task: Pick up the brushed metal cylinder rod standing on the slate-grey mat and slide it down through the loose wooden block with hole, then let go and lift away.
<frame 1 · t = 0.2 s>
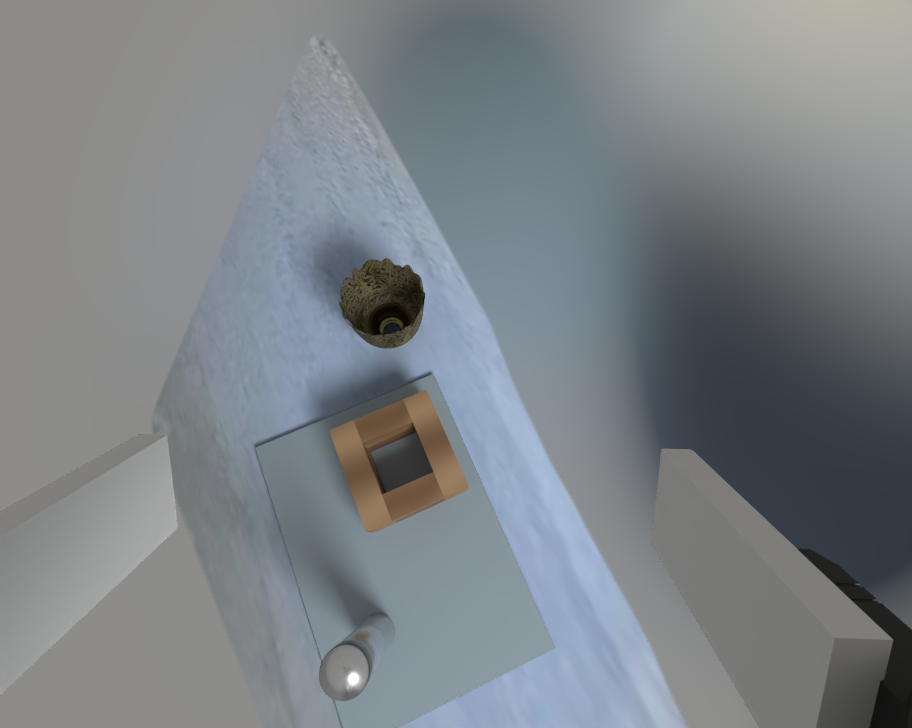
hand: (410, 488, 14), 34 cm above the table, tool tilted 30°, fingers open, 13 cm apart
mat: (396, 541, 46), on the table
metal cylinder rod: (378, 631, 43), resting on mat
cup: (392, 331, 52), on the table
wooden block with hole: (402, 464, 47), resting on mat
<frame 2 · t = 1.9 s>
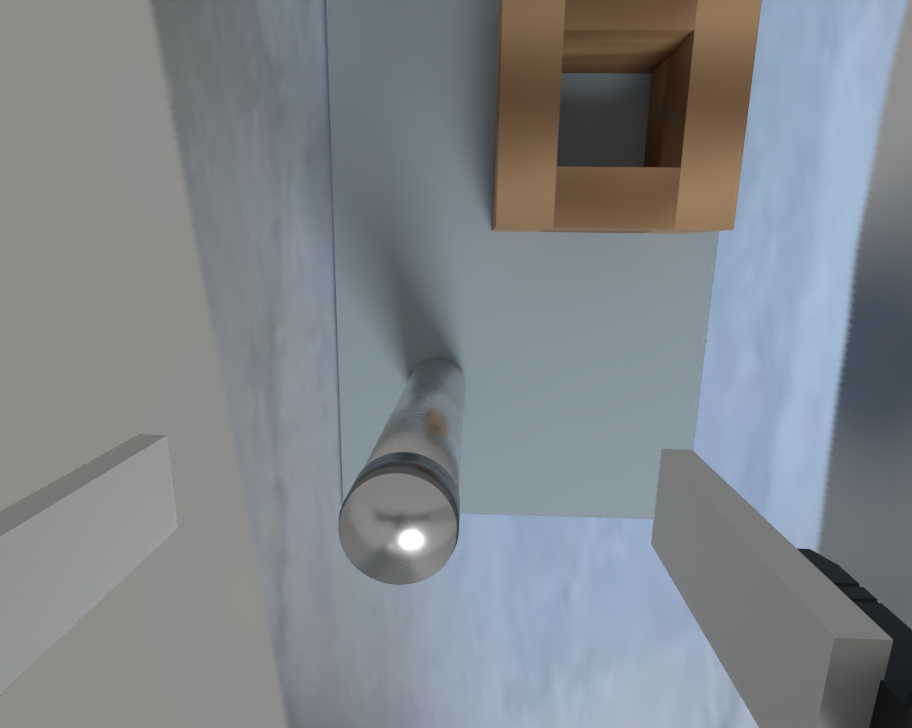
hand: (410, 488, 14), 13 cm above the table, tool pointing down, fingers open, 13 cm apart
mat: (521, 264, 25), on the table
metal cylinder rod: (437, 384, 26), resting on mat
wooden block with hole: (595, 129, 23), resting on mat
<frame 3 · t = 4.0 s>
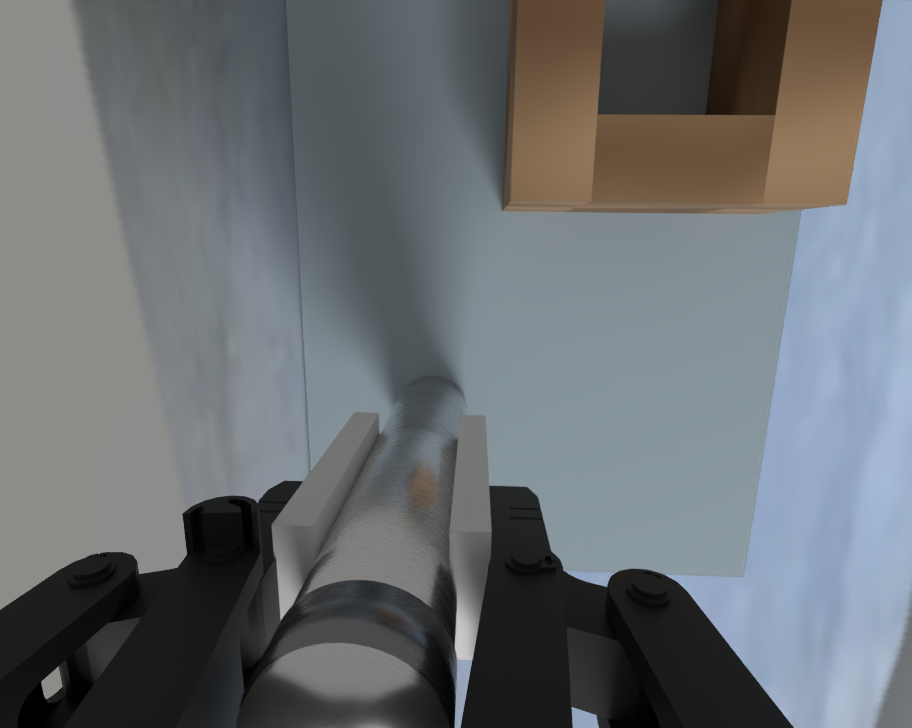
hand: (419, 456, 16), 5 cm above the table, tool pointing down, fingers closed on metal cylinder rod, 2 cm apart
mat: (540, 254, 19), on the table
metal cylinder rod: (431, 410, 20), resting on mat, touching gripper
wooden block with hole: (640, 74, 17), resting on mat
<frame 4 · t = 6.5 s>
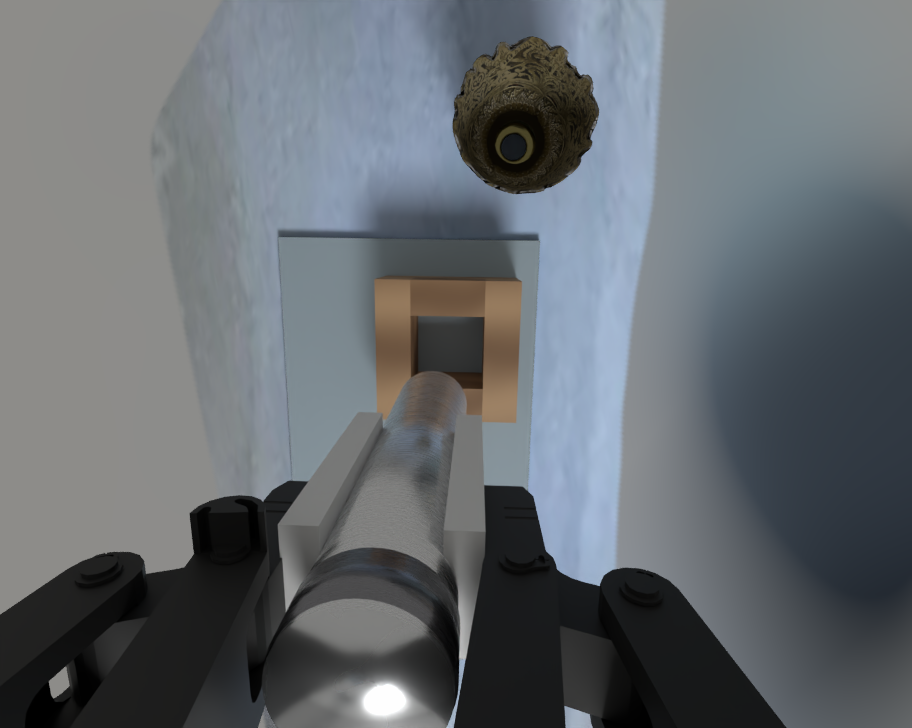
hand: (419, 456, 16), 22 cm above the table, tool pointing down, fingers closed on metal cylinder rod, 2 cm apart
mat: (409, 417, 38), on the table
metal cylinder rod: (432, 404, 21), point 16 cm above the table, touching gripper
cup: (513, 148, 34), on the table
wooden block with hole: (450, 340, 37), resting on mat
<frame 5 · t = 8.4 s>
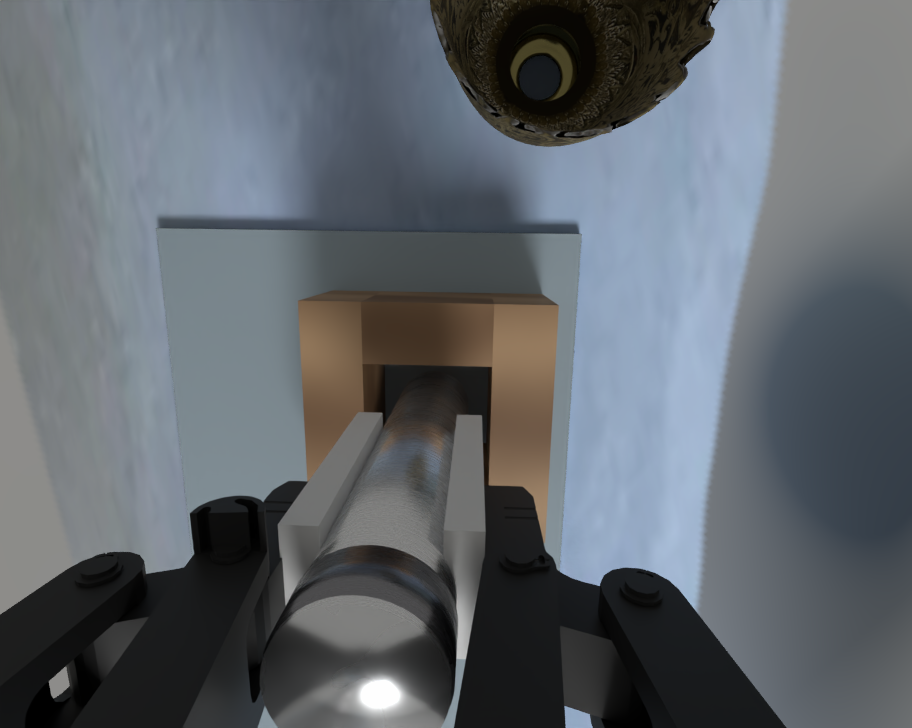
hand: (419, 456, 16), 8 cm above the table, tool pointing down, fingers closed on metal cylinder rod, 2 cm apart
mat: (374, 509, 25), on the table
metal cylinder rod: (434, 404, 21), point 2 cm above the table, touching gripper
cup: (538, 79, 21), on the table
wooden block with hole: (436, 393, 23), resting on mat
when the fingers open (6 cm above the table, at t = 9.6 s): metal cylinder rod stays where it is, resting on mat.
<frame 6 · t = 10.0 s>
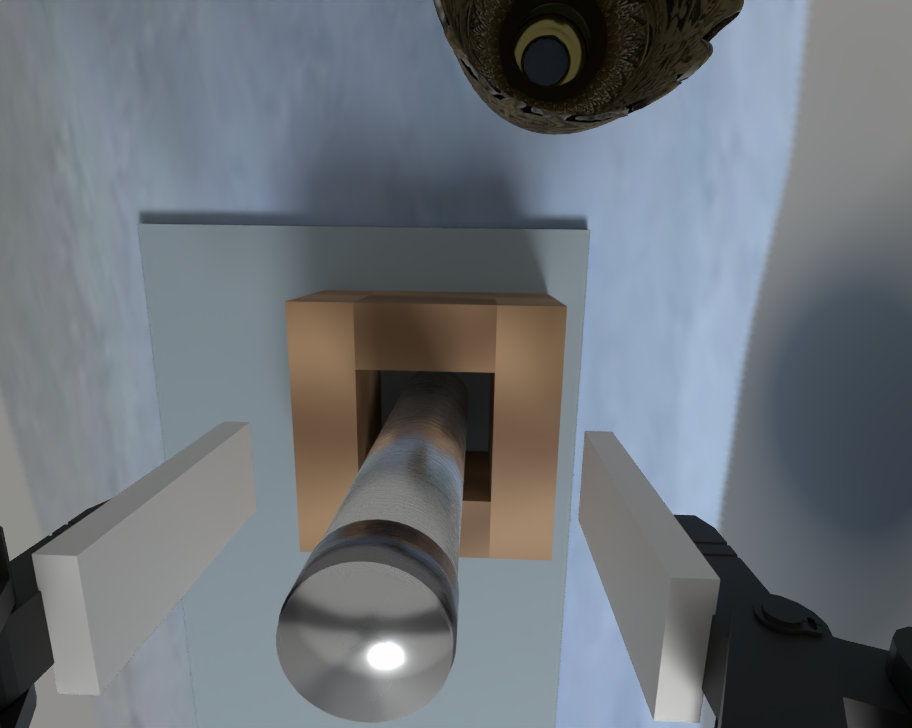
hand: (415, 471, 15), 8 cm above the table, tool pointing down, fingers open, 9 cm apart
mat: (369, 520, 24), on the table
metal cylinder rod: (435, 399, 22), resting on mat
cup: (544, 64, 19), on the table
wooden block with hole: (435, 398, 22), resting on mat
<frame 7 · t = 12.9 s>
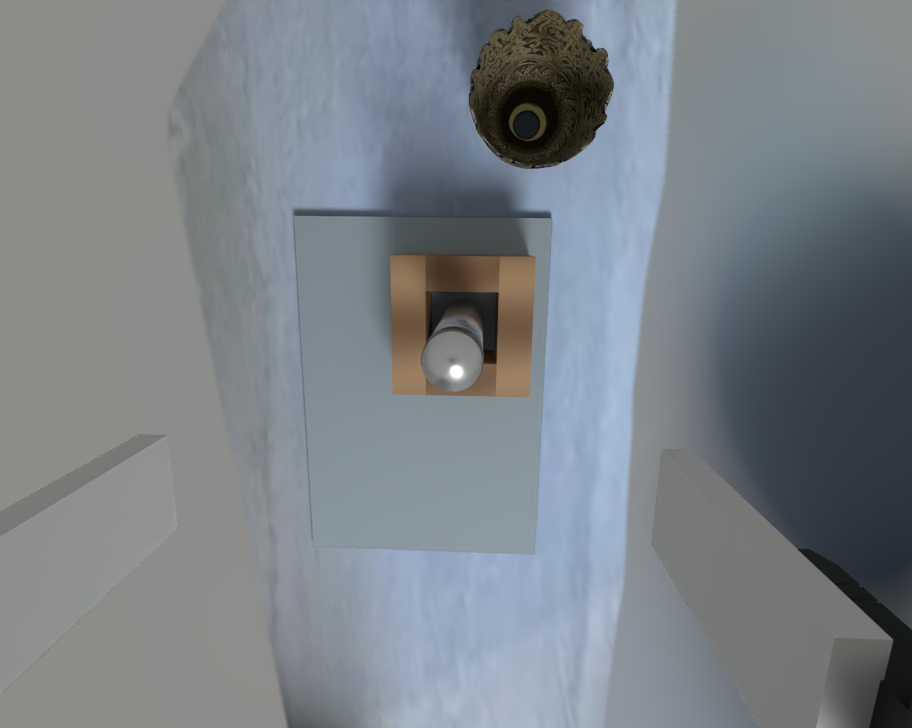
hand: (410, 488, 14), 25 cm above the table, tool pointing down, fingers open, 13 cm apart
mat: (423, 395, 39), on the table
metal cylinder rod: (463, 318, 37), resting on mat
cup: (526, 125, 35), on the table
wooden block with hole: (463, 318, 37), resting on mat
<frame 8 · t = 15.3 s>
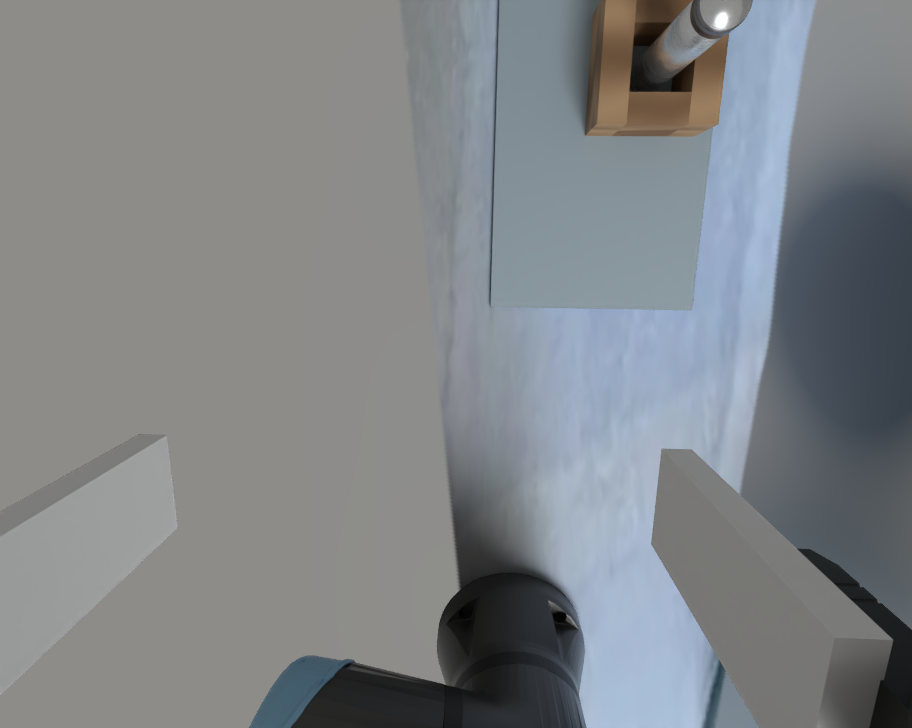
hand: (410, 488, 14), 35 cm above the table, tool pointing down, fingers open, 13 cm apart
mat: (600, 155, 44), on the table
metal cylinder rod: (644, 77, 42), resting on mat
wooden block with hole: (644, 77, 42), resting on mat
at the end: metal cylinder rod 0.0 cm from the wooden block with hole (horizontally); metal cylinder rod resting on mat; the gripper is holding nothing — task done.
